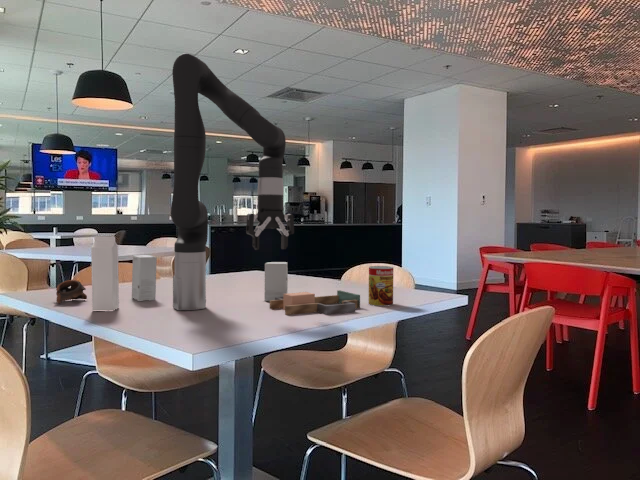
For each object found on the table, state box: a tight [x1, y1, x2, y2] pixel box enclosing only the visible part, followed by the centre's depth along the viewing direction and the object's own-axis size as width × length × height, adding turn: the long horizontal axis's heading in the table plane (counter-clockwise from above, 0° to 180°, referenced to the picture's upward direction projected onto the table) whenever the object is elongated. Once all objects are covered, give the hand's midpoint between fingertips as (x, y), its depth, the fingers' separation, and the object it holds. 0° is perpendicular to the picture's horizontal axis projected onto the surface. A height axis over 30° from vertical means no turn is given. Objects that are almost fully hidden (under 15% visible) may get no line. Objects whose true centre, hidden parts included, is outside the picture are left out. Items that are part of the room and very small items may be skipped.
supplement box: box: [264, 261, 289, 302], centre depth 175 cm, size 7×7×13 cm
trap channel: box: [269, 290, 361, 316], centre depth 158 cm, size 25×22×4 cm
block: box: [282, 291, 316, 311], centre depth 156 cm, size 8×5×5 cm, turn 123°
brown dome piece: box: [55, 279, 88, 304], centre depth 169 cm, size 12×10×8 cm
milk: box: [90, 235, 120, 311], centre depth 154 cm, size 6×6×22 cm
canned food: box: [368, 265, 394, 307], centre depth 167 cm, size 8×8×12 cm
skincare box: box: [131, 254, 158, 302], centre depth 175 cm, size 8×6×15 cm
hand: (270, 249), depth 152 cm, fingers open, 8 cm apart
